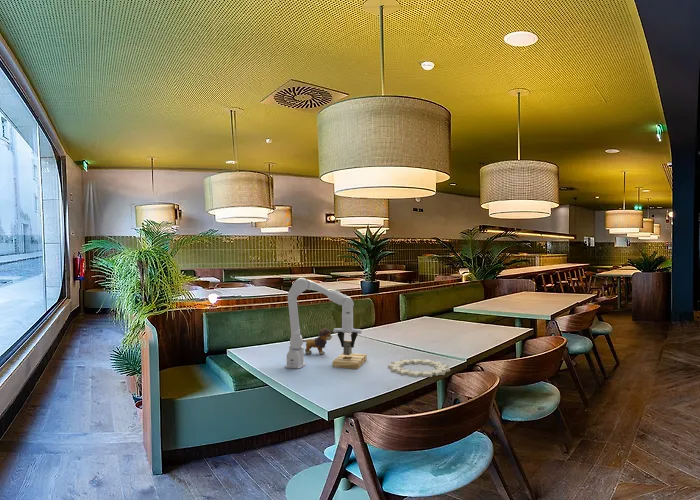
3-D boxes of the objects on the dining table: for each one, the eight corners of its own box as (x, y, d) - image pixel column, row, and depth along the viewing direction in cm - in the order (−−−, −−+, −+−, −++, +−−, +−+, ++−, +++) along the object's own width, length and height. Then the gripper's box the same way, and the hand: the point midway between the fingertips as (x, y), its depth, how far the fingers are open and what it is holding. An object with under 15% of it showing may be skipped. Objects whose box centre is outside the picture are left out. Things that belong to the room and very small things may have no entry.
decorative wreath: (448, 362, 229) (390, 360, 234) (448, 359, 229) (390, 357, 234) (451, 379, 200) (385, 376, 205) (451, 376, 200) (384, 373, 205)
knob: (353, 353, 228) (353, 340, 228) (350, 355, 224) (350, 342, 224) (344, 352, 230) (344, 339, 230) (341, 354, 225) (341, 341, 225)
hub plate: (357, 368, 217) (357, 362, 217) (332, 367, 221) (332, 360, 221) (366, 359, 235) (366, 353, 234) (343, 358, 238) (343, 352, 238)
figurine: (331, 356, 243) (331, 328, 243) (294, 354, 248) (293, 327, 247) (334, 353, 250) (334, 326, 250) (298, 351, 254) (297, 325, 254)
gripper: (363, 319, 229) (363, 346, 229) (336, 318, 233) (336, 344, 233) (359, 322, 222) (359, 349, 222) (332, 320, 226) (332, 347, 226)
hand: (347, 347), depth 227 cm, fingers closed on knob, 5 cm apart
